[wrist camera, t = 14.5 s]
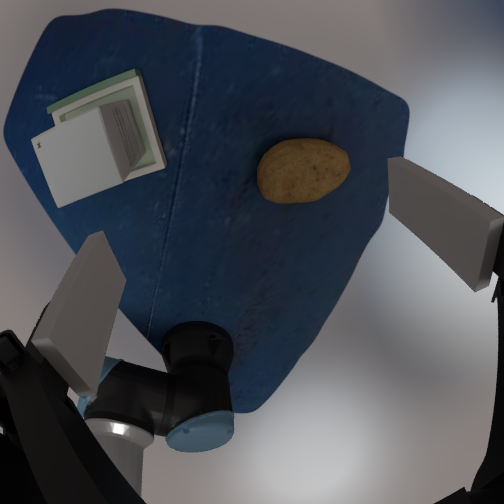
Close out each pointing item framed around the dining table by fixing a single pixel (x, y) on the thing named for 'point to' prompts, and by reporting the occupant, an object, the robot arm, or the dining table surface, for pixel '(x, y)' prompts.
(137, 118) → the shallow square tray
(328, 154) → the potato
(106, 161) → the supplement box
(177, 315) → the dining table surface
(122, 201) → the dining table surface
